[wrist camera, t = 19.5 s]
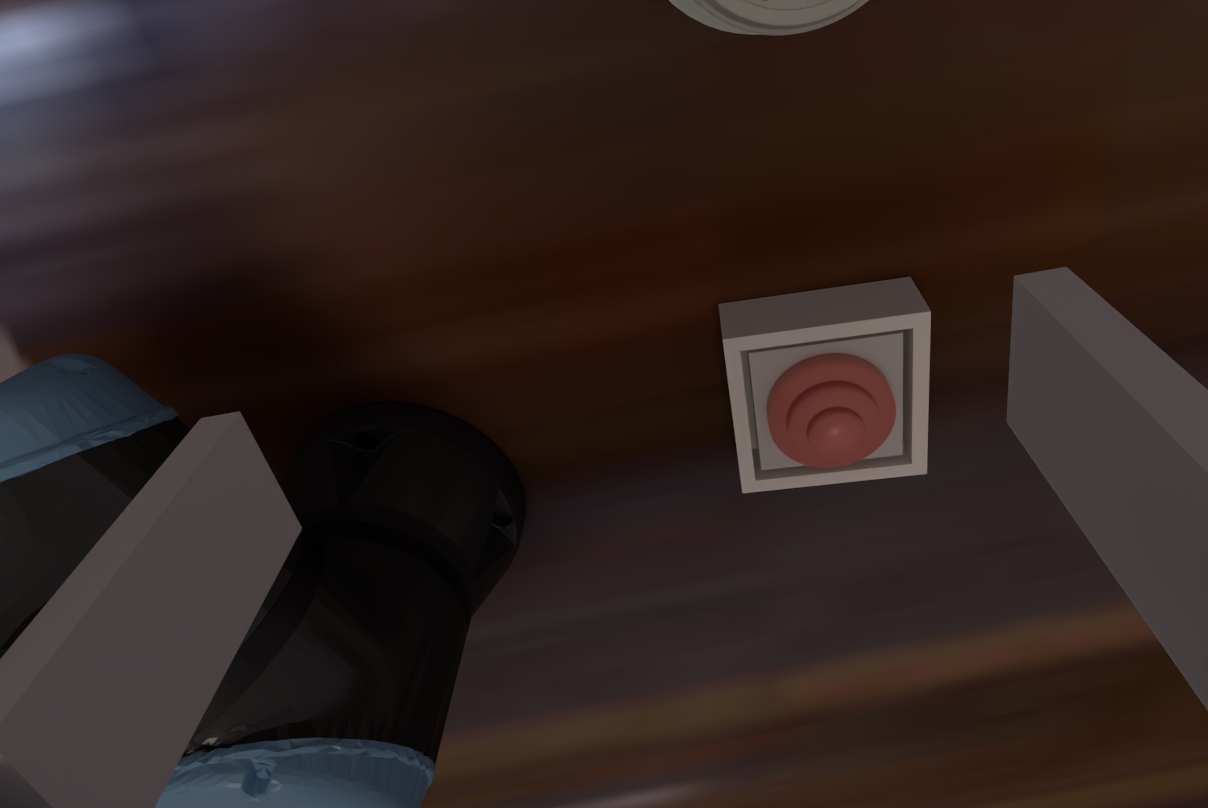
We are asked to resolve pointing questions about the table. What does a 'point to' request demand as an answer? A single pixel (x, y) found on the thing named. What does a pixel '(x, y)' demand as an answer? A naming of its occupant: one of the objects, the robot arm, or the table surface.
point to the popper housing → (823, 320)
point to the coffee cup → (778, 14)
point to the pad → (704, 16)
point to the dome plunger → (828, 400)
